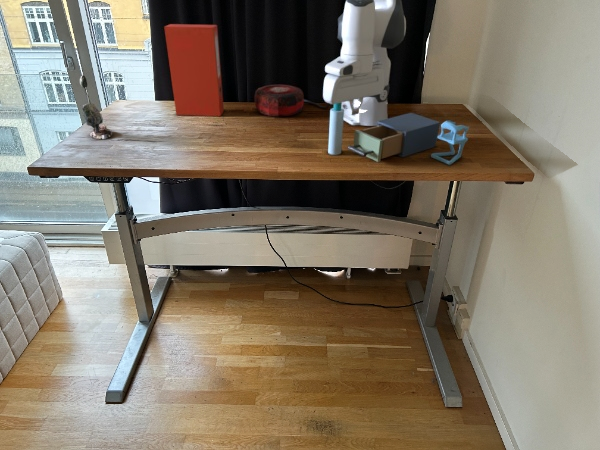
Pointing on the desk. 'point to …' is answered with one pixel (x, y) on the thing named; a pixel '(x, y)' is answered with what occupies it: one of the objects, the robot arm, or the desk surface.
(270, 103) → the red flat cylinder
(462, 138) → the chair
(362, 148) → the drawer
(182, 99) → the file binder
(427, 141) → the cabinet
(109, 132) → the plant with pod
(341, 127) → the spray bottle
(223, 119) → the desk surface
